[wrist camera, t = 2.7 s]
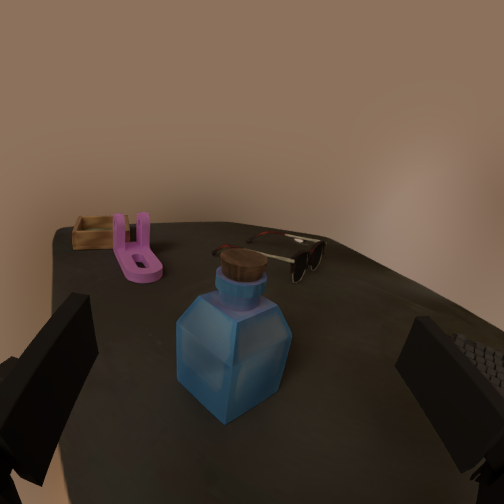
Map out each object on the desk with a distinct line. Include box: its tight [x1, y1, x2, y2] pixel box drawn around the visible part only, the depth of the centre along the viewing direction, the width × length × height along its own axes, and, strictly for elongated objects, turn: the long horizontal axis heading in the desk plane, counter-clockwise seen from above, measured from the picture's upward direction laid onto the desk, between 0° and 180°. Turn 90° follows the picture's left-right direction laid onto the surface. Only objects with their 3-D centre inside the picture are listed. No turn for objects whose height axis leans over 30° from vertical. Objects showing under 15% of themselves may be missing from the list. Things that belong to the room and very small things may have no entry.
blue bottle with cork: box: [177, 248, 292, 425], centre depth 22 cm, size 6×6×12 cm
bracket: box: [113, 212, 163, 283], centre depth 43 cm, size 13×6×7 cm, turn 34°
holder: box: [72, 215, 130, 250], centre depth 52 cm, size 11×11×3 cm
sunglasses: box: [212, 231, 327, 283], centre depth 53 cm, size 14×16×5 cm
